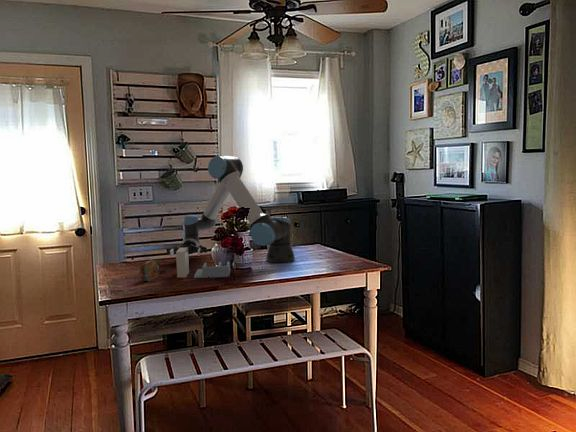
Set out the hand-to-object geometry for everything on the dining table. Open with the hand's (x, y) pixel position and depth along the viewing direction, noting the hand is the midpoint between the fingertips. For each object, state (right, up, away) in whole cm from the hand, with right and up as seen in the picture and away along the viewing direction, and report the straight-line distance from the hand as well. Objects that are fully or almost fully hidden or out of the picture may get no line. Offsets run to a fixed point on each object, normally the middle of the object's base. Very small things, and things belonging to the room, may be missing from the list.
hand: (184, 253), depth 243 cm
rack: (+15, -9, -9) cm, 20 cm away
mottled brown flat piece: (-12, -11, -17) cm, 23 cm away
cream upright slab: (+1, -9, -9) cm, 13 cm away
